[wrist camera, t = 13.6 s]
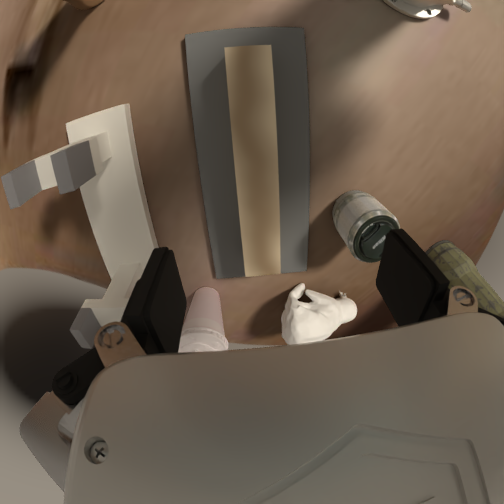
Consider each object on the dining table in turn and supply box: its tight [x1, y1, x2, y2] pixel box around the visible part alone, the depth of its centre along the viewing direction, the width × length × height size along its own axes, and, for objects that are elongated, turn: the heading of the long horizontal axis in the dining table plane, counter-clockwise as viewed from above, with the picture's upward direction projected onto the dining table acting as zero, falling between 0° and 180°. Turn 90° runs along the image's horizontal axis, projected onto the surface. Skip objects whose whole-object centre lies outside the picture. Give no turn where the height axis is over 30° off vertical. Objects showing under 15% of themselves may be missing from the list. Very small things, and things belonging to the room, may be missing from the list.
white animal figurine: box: [281, 283, 357, 345], centre depth 37 cm, size 6×8×12 cm
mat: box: [185, 27, 310, 279], centre depth 28 cm, size 12×30×1 cm, turn 4°
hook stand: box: [1, 104, 159, 349], centre depth 25 cm, size 8×25×14 cm, turn 4°
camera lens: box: [332, 190, 400, 263], centre depth 29 cm, size 6×6×8 cm
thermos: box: [425, 240, 504, 318], centre depth 23 cm, size 9×12×35 cm
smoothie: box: [178, 287, 228, 353], centre depth 33 cm, size 6×6×14 cm
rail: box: [224, 45, 281, 277], centre depth 26 cm, size 4×24×4 cm, turn 4°
